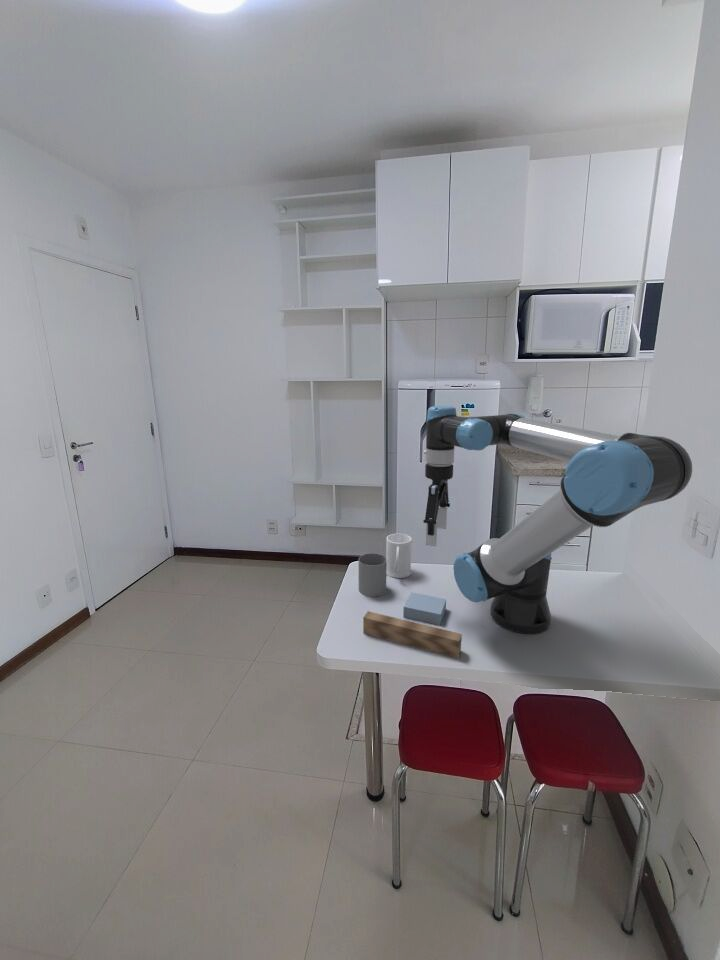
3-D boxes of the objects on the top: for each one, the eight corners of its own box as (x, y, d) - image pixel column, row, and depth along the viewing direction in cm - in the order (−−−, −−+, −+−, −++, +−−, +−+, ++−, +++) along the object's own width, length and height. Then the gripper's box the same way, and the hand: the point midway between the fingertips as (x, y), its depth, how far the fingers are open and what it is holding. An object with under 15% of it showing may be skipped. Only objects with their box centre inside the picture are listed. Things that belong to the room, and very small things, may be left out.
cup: (356, 595, 126) (356, 564, 123) (360, 581, 133) (360, 552, 131) (384, 597, 124) (385, 566, 122) (387, 583, 132) (388, 554, 129)
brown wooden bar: (460, 650, 101) (461, 633, 100) (458, 657, 99) (459, 641, 98) (367, 626, 111) (367, 611, 109) (363, 632, 108) (363, 617, 107)
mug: (408, 584, 131) (409, 549, 128) (381, 581, 133) (381, 546, 130) (412, 567, 142) (413, 534, 139) (387, 564, 144) (388, 532, 141)
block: (445, 610, 119) (446, 599, 118) (440, 626, 111) (440, 614, 110) (410, 603, 122) (411, 592, 121) (403, 618, 115) (403, 606, 114)
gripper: (435, 454, 128) (433, 520, 134) (414, 472, 106) (412, 551, 111) (460, 455, 125) (457, 523, 131) (444, 475, 103) (440, 555, 109)
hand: (436, 536), depth 121 cm, fingers open, 13 cm apart
